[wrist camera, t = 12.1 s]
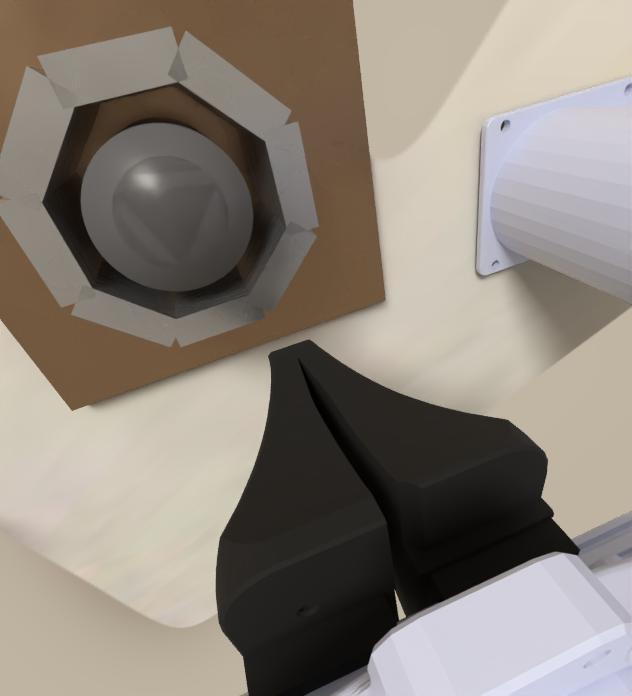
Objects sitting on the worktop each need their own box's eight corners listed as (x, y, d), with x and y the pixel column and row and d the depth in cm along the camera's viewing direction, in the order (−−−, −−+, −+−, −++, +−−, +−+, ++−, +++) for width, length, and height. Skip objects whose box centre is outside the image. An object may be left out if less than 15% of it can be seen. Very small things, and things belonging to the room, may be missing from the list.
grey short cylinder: (199, 99, 14) (215, 98, 10) (245, 220, 16) (273, 258, 12) (75, 141, 13) (39, 159, 9) (143, 259, 16) (137, 313, 12)
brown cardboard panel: (321, -160, 12) (424, -324, 8) (377, 292, 22) (439, 348, 17) (-274, -65, 10) (-680, -215, 5) (75, 397, 19) (47, 498, 14)
